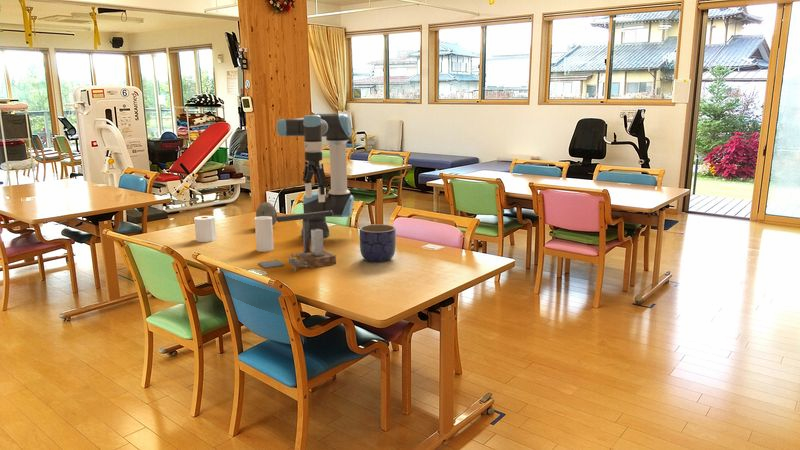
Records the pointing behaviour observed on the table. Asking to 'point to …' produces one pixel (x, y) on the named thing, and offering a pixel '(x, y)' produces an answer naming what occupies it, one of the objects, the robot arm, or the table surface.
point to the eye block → (318, 259)
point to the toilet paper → (205, 228)
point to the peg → (317, 242)
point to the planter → (377, 242)
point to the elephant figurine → (296, 263)
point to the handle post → (305, 238)
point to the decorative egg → (267, 211)
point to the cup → (264, 233)
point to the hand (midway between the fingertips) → (315, 199)
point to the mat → (271, 264)
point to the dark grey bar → (304, 216)
